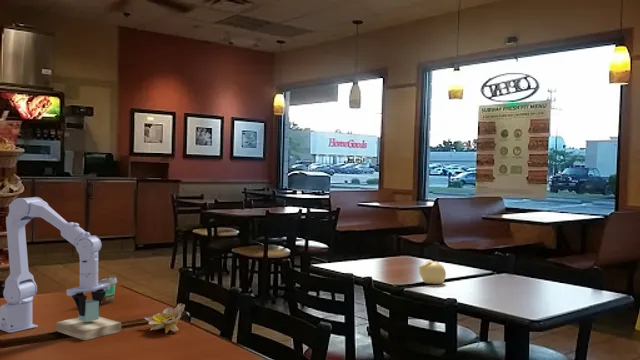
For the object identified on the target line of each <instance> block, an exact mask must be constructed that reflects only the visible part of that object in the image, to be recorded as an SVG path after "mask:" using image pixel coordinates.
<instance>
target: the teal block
mask: <svg viewBox="0 0 640 360" xmlns="http://www.w3.org/2000/svg"><path fill="white" fill-rule="evenodd" d="M99 313H100V308H99V301H96V300H93V299H92V298H91V299H86V303H85V315H84V316H80V315H79V314H78V318H79V320H81V321H85V322H88V321H93V320H97V319H99V317H100V314H99Z"/></svg>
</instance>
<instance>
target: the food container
mask: <svg viewBox="0 0 640 360" xmlns="http://www.w3.org/2000/svg"><path fill="white" fill-rule="evenodd" d="M102 283H110V289H108V290H107V289H105V290H104V291H106V294H105V296H104V298H103V300H102V302H101V305H100V306H103V305H104V304H106V305H111V304H113V303H114V302H115V293H116V292H115V291H116V284H117V283H118V279H117V277H116V275H112V274H110V275H108V277H106V278H100V279H98V284H102ZM110 303H111V304H110Z"/></svg>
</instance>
